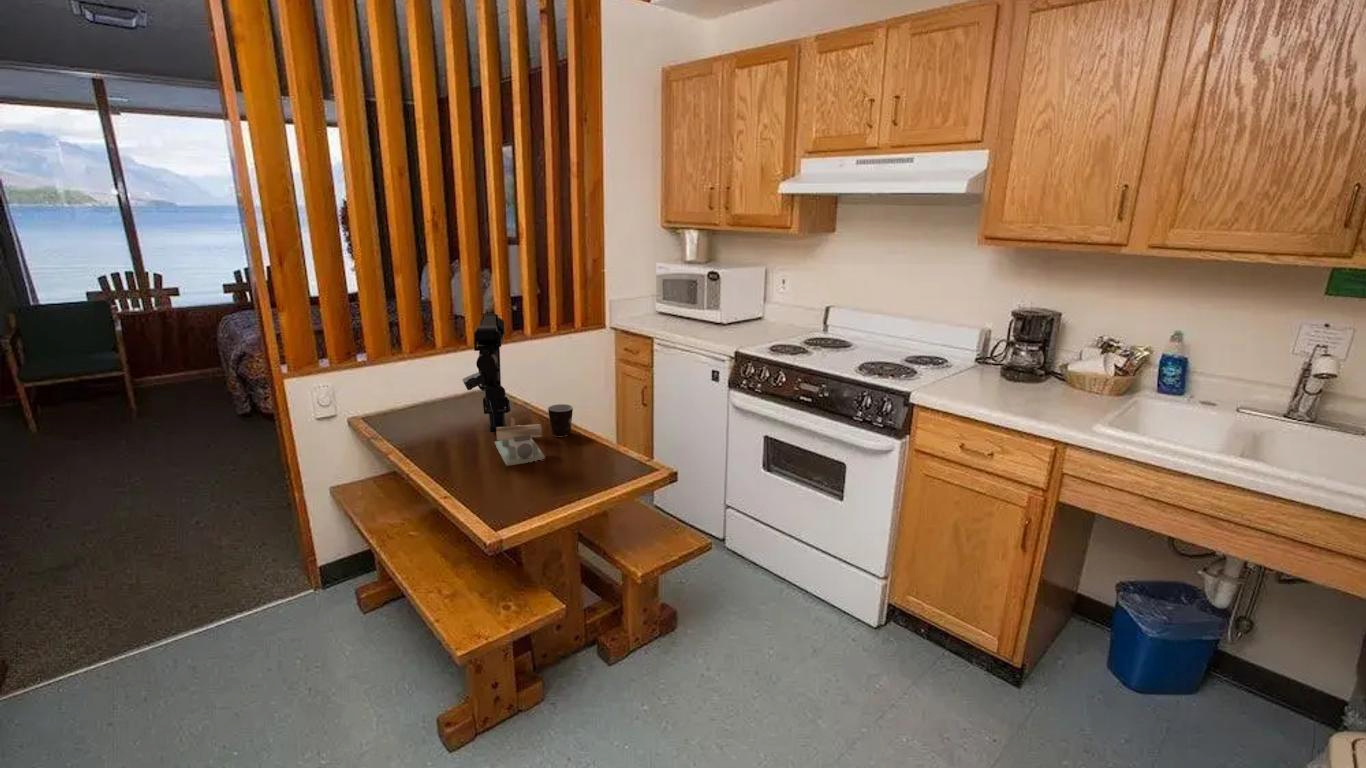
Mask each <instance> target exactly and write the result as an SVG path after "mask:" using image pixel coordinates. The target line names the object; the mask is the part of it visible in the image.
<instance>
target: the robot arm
mask: <svg viewBox="0 0 1366 768" xmlns="http://www.w3.org/2000/svg"><path fill="white" fill-rule="evenodd" d="M479 322H480V323H479V326H477V327H476V330H474V332H473V333H474V334H473V335H474V336H473V342H474V344H473V345H474V347H473V348H474V349H473V350H474V352H478V357H477V360H476V363H475V364H476V368H477V369H478V372H475V373H473V374H471V375H468V376H466V377H464V378H462V382H463V384H464V385H465V388H466V390H467V391H471V390H473V389H474V388H477V387H478V389H479V390H481V391H482V392H483V395H484V397H483V398H482V406H483V407H482V408H483V414H484V415H486V414H487V415H488V423H489V424H486V425H487V426H486V427H487V429H488V428H489V429H488V430H489V432H493V431H495V430H496V427H506V426H508V425H507V423H506V414H508V413H509V412H511V402H510V401H511V400H510V399H509V398H508V396H507V395H506V394H507V393H506V389H505V388H504V387H503V386H502V382H501V381H502V378H501V349H500V348H502V345H503V342H504V340H505V339H504V338H505V337H504V336H506V323H505V320H504V319H502V318H501V317H499V314H497V313H485V314H483V315H482V319H481V320H480V321H479Z"/></svg>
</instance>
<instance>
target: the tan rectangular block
mask: <svg viewBox="0 0 1366 768" xmlns="http://www.w3.org/2000/svg"><path fill="white" fill-rule="evenodd" d="M519 425H520V424H519ZM542 429H543V428H542V424H541V423H537V424H535V423H534V424H525V425H524V424H523V425H522V424H521V425H520V426H517V425H515V426H511V425H509V426H508V425H507V426H506V427H496V432H495V433H496V441H501V440H506V439H514V437H519V436H526V435H530V438H532V439H533V438H541V437H543V435H542V434H543V433H542Z"/></svg>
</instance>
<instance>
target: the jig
mask: <svg viewBox="0 0 1366 768" xmlns="http://www.w3.org/2000/svg"><path fill="white" fill-rule="evenodd" d="M510 426H520V424H518V425H516V420H515V418H514V417H510ZM494 445H496V446H495V447H496V449H497V451H498V452H499V454H500V457H501V458H502V460H503V462H504V464H505V465H506V467H508V466H515V465H521V464H527V463H528V462H529V463H533V461H535V462H538V461H537V460H541V461H543V460H542V459H545V460H546V456H545V454H544V453H543V452H542V451H541V449H540V448H539V445H538V444H537V443H536V442H535V441H534V439H533V437H532V438H530V435H526V436H519V437H514V439H506V440H496V441H494ZM529 463H528V464H529Z"/></svg>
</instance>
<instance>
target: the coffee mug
mask: <svg viewBox="0 0 1366 768" xmlns="http://www.w3.org/2000/svg"><path fill="white" fill-rule="evenodd" d="M573 409H574V406H572V405H570V404H563V403H561V404H560V403H558V404H553V405H550V406H548V408H547V410H548V411H547V412H548V417H549V421H550V428H551V435H552V434H553V435H556V436H565V435H569V434H570V433H572V432H571V431H572V422H573ZM553 435H552V436H553ZM570 435H571V434H570Z"/></svg>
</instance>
